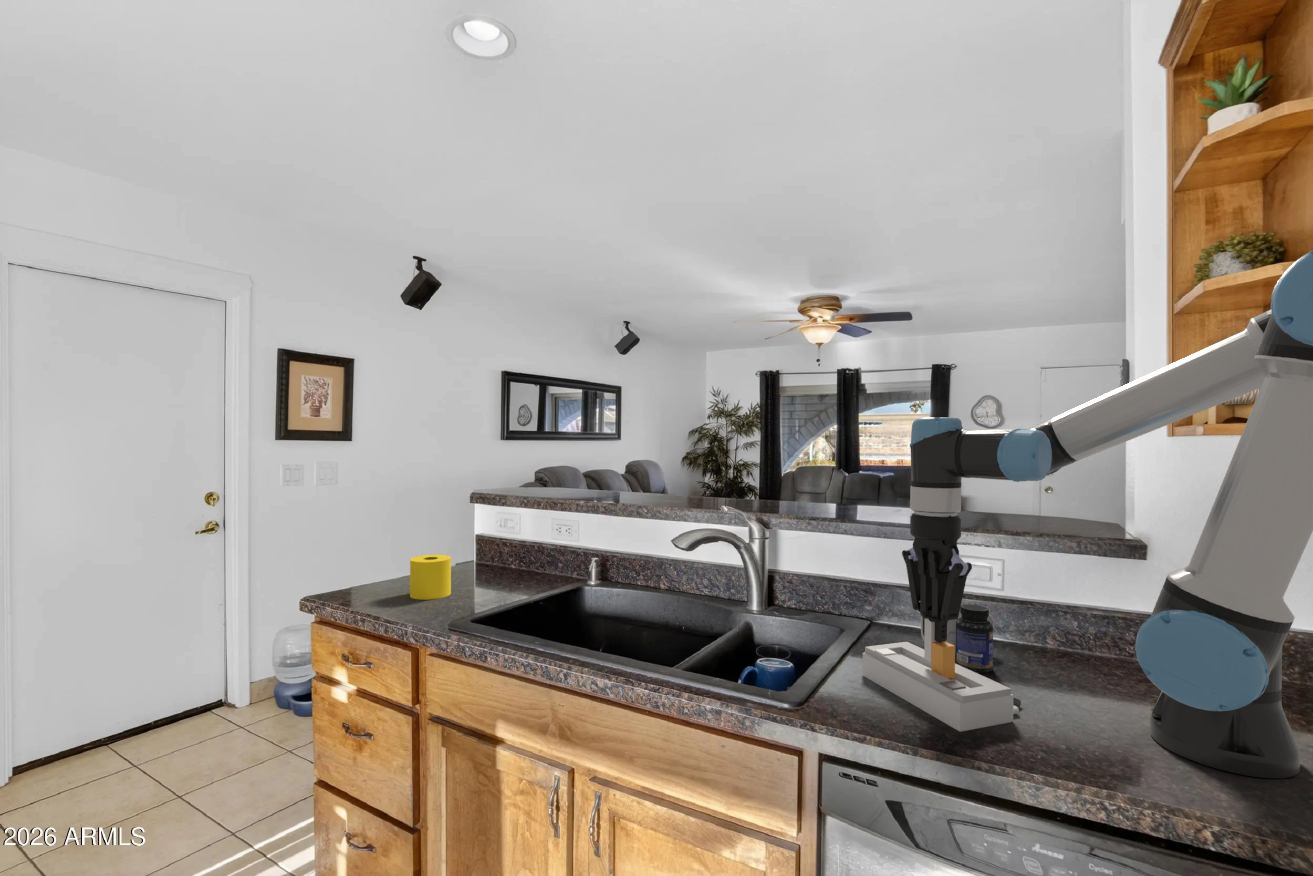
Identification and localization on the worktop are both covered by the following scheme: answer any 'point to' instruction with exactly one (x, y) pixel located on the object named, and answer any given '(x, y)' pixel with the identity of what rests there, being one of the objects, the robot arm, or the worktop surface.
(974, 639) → the pill bottle
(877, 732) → the worktop surface
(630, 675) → the worktop surface
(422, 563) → the yellow toilet paper roll
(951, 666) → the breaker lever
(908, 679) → the slider switch box
